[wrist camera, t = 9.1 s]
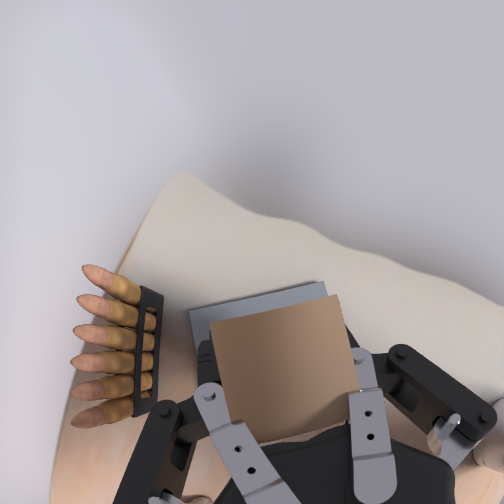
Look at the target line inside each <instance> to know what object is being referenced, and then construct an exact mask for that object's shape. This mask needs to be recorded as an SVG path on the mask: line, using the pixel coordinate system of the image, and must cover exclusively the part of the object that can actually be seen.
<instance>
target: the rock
mask: <svg viewBox="0 0 504 504" xmlns="http://www.w3.org/2000/svg"><path fill="white" fill-rule="evenodd" d="M185 504H213V502H212V501H211V499H210V498H208V497H198V498H195V499H194V500H193V501H191V502H189V503H185Z"/></svg>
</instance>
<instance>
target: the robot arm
mask: <svg viewBox="0 0 504 504" xmlns="http://www.w3.org/2000/svg"><path fill="white" fill-rule="evenodd" d="M345 327H346V331H347V335H348V339H349V343H350V347H351V351H352V355H353V360H354V364H355V369H356V373H357V378H358V382H359V387H360V390H358V391H351V392H348V410H347V417H348V420H345V421H342V422H341V425H340V426H338V427H334V428H331V429H328V430H326V431H324V432H322V433H321V434H319V435H317V436H315V437H313V438H311V439H310V440H308V441H305V442H282V443H276V444H272V445H267V446H262V447H260V446H259V445H258V443H257V442H256V440H255V439H254V437H253V435H252V434H251V432H250V431H249V429H248V428H247V426H246V424H245V423H244V421H243V420H239V421H237V422H234V423H231V421H230V417H229V413H228V408H227V404H226V400H225V396H224V391H223V387H222V383H221V378H220V374H219V369H218V364H217V360H216V355H215V350H214V345H213V340H212V335H211V330H209V336H210V339H209V340H204V341H201V343H200V345H199V347H198V388H197V389H196V390H195V392H194V395H193V396H192V397H191V398H189V399H187V400H185V401H182V402H180V403H177V404H176V403H175V402H174V401H171V400H162V401H159V402H157V403H156V404H155V405H154V406H153V407H152V409H151V411H150V413H149V415H148V418H147V420H146V422H145V425H144V427H143V430H142V432H141V434H140V437H139V439H138V441H137V444H136V446H135V449H134V451H133V454H132V456H131V458H130V461H129V463H128V466H127V468H126V471H125V473H124V476H123V478H122V481H121V483H120V486H119V488H118V491H117V493H116V496H115V499H114V501H113V504H185V503H184V502H183V501H181V500H180V499H181V496H182V492H183V489H184V485H185V482H186V478H187V475H188V471H189V468H190V464H191V461H192V458H193V454H194V451H195V447H196V444H197V440H200V439H202V438H204V437H207V436H209V435H210V436H211V438H212V440H213V442H214V444H215V446H216V448H217V450H218V452H219V454H220V456H221V458H222V460H223V462H224V464H225V465H226V467H227V469H228V471H229V473H230V475H231V476H232V477H231V479H230V480H229V482H228V483H227V485H226V486H225V487H224V489H223V490H222V492H221V493H220V495H219V496H218V497H217V499H216V500H215V502H214V503H213V504H456V503H455V496H454V488H455V475H454V470H455V469H456V468H457V466H458V465H459V464H460V463H461V462H462V461H463V459H464V458H465V457H466V456H467V455H468V453H469V452H470V451H471V450H472V449H473V456H474V460H475V462H476V463H477V464H479V465H481V466H484V467H487V468H490V469H493V470H496V471H499V472H502V473H504V398H502V399H500V400H498V401H497V402H496V403H495V404H494V405H493V406H490V405H489V404H488V403H486V402H485V401H484V400H482V399H481V398H480V397H478V396H477V395H476V394H474V393H473V392H472V391H470V390H469V389H468V388H466V387H465V386H464V385H462V384H461V383H459V382H458V381H457V380H455V379H454V378H453V377H451V376H450V375H449V374H447V373H446V372H445V371H443V370H442V369H440V368H439V367H438V366H436V365H435V364H434V363H432V362H431V361H429V360H428V359H427V358H425V357H424V356H423V355H421V354H420V353H418V352H417V351H416V350H414V349H413V348H412V347H410V346H408V345H405V344H397V345H394V346H393V347H391V348H390V350H389V352H388V353H382V354H371V353H370V352H369V351H368V350H366V349H364V348H360V346H359V345H358V343H357V342H356V340H355V338H354V337H353V335H352V334H351V332H350V331H349V329H348V328H347V326H346V325H345ZM383 396H384V397H385V398H386V399H387V400H388V401H389V402H391V403H392V404H393V405H394V406H395V407H396V408H397V409H398V410H400V411H401V412H402V413H403V414H404V415H405V416H406V417H407V418H409V419H410V420H411V421H412V422H413V423H414V424H415V425H416V426H418V427H419V428H420V429H421V430H422V431H423V432H424V433H426V434H427V435H428V436H427V444H428V446H429V449H430V450H431V451H432V452H433V455H431V454H428V453H425V452H423V451H420V450H418V449H415V448H413V447H410V446H408V445H405V444H403V443H400V442H398V441H396V440H393V439H391V438H390V436H389V428H388V421H387V415H386V409H385V403H384V397H383Z"/></svg>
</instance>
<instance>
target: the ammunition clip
mask: <svg viewBox="0 0 504 504" xmlns="http://www.w3.org/2000/svg"><path fill="white" fill-rule="evenodd" d="M82 271H83V273H84V274H85V276H86V277H87V278H88V279H89V280H90V281H91V282H92V283H94V284H95V285H96V286H98V287H100V288H101V289H103V290H104V291H106V292H107V293H108V294H109V295H111V296H112V297H113V298H116V299H118V300H120V301H117V300H109V299H106V298H102V297H99V296H96V295H89V294H86V295H80V296H78V297H77V298H76V299H77V302H78V303H79V305H80V306H81V307H83V308H84V309H85V310H86V311H88V312H90V313H92V314H94V315H97V316H99V317H101V318H104V319H105V320H107V321H108V322H110V323H113V324H117V325H118V326H114V325H107V326H102V325H94V324H84V325H79V326H76V327H75V328H74V329H73V333H74V334H75V335H76V336H77V337H79V338H80V339H82V340H84V341H86V342H89V343H92V344H98V345H101V346H105V347H107V348H109V349H116V351H104V352H102V353H86V354H81V355H78V356H76V357H74V358H73V359H72V360H71V364H72V365H73V366H74V367H75V368H78V369H80V370H83V371H87V372H103V373H107V374H114V375H113V376H105V377H103V378H101V379H98V380H94V381H89V382H85V383H82V384H80V385H78V386H76V387H74V388H73V389H72V390H71V391H70V395H71V396H72V397H74V398H76V399H80V400H98V399H99V400H100V399H111V400H107V401H104V402H102V403H100V404H99V405H98V406H95V407H92V408H90V409H87V410H84V411H82V412H80V413H79V414H77V415H76V416H75V417H74V418H73V419H72V421H71V425H72V426H74V427H78V428H91V427H96V426H99V425H103V424H111V423H115V422H118V421H120V420H122V419H125V418H127V417H129V416H131V417H134V418H135V417H138V416H141V415H143V414H146V413H148V412H150V411H151V409H152V407H153V406H154V405H155V404H156V403H157V394H158V367H159V350H160V335H161V323H162V312H163V301H164V297H163V295H161V294H159V293H157V292H154V291H152V290H150V289H148V288H146V287H144V286H138V285H137V284H135V283H133V282H132V281H130V280H128V279H127V278H125V277H123V276H121V275H118V274H114V273H112V272H110V271H107V270H106V269H104V268H101V267H98V266H95V265H83V266H82ZM130 305H131V306H130ZM133 306H134V307H133ZM135 307H136V308H135ZM125 327H128V328H133V329H137V330H132V329H128V328H125ZM123 350H131V351H135V352H130V351H123ZM131 372H134V373H131ZM122 373H128V374H122Z"/></svg>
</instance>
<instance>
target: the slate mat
mask: <svg viewBox="0 0 504 504" xmlns="http://www.w3.org/2000/svg"><path fill="white" fill-rule="evenodd" d="M324 297H328V295H327V291H326V288H325V284H324V281H321V282H317V283H313V284H309V285H305V286H300V287H296V288H292V289H288V290H283V291H279V292H275V293H270V294H266V295H262V296H257V297H252V298H248V299H243V300H239V301H234V302H229V303H224V304H219V305H214V306H210V307H204V308H199V309H194V310H189V317H190V322H191V328H192V333H193V338H194V343H195V348H196V353H197V358H198V347H199V345H200V343H201V341H204V340H209V339H210V336H209V330H210V325H209V323H210V322H216V321H221V320H226V319H231V318H236V317H241V316H246V315H251V314H255V313H260V312H265V311H269V310H274V309H278V308H283V307H287V306H291V305H295V304H300V303H304V302H308V301H312V300H316V299H320V298H324Z"/></svg>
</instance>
